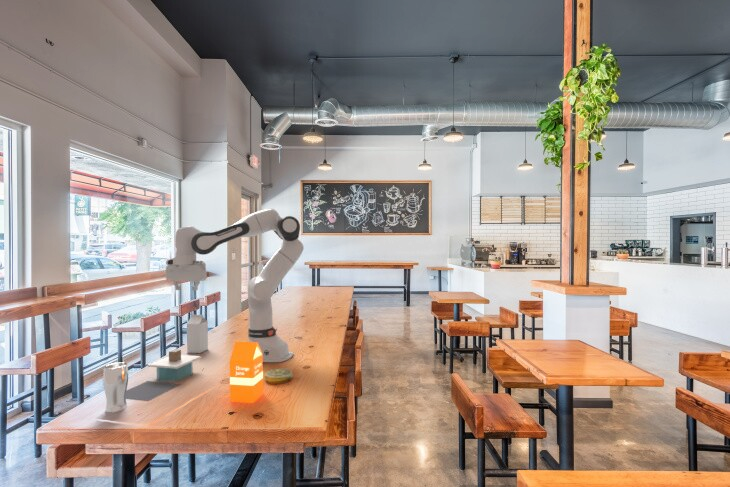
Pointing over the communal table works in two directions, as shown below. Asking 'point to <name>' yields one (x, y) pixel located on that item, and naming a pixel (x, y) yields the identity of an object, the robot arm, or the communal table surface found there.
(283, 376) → the decorated donut
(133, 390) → the mat
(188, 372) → the bowl
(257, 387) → the orange juice
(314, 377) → the communal table surface
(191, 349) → the milk carton
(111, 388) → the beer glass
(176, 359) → the lid
